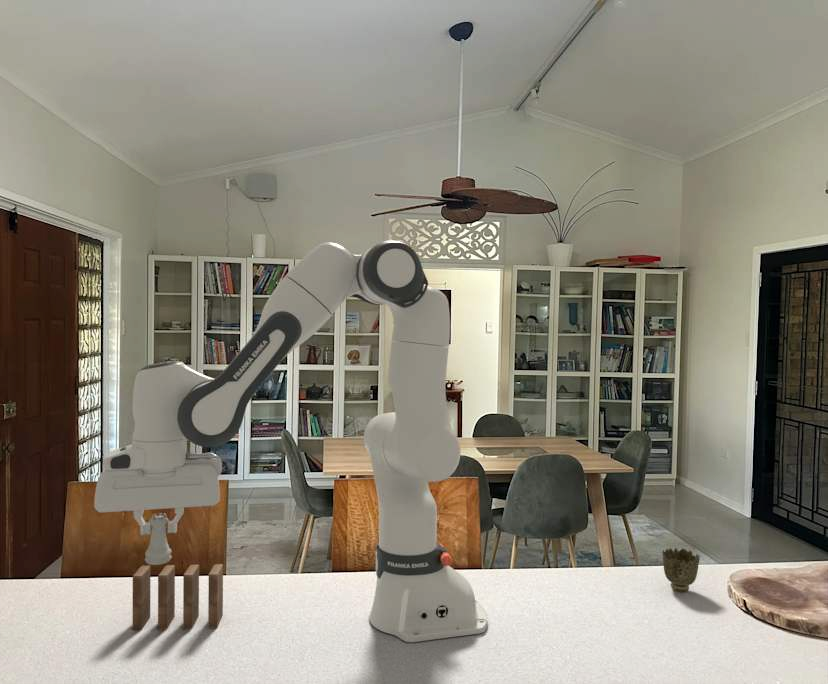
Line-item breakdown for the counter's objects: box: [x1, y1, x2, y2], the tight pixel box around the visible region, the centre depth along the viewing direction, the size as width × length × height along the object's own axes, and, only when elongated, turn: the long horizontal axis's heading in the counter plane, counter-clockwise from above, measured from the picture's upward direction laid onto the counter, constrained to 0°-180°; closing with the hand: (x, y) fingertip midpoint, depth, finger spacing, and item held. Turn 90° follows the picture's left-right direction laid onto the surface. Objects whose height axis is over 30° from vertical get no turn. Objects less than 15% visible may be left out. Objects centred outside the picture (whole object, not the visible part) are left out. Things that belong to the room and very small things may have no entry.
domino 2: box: [157, 564, 176, 631], centre depth 120 cm, size 2×5×10 cm, turn 5°
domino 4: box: [207, 563, 224, 629], centre depth 121 cm, size 2×5×10 cm, turn 5°
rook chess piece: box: [144, 512, 173, 566], centre depth 112 cm, size 4×4×8 cm
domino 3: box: [182, 564, 200, 630], centre depth 121 cm, size 2×5×10 cm, turn 5°
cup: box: [661, 547, 701, 593], centre depth 139 cm, size 8×7×8 cm
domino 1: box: [132, 565, 152, 631], centre depth 120 cm, size 2×5×10 cm, turn 5°
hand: (158, 533), depth 112 cm, fingers closed on rook chess piece, 3 cm apart
